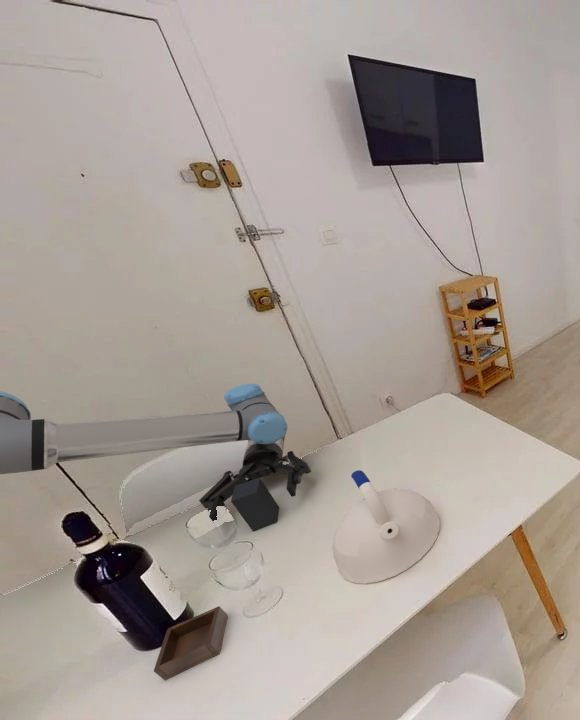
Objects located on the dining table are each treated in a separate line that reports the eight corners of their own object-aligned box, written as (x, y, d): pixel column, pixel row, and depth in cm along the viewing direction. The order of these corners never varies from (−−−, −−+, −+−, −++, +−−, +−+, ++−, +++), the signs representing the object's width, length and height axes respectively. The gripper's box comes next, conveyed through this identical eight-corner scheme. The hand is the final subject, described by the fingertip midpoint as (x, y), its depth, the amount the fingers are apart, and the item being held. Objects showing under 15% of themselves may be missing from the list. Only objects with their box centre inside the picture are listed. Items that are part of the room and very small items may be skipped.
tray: (164, 680, 68) (153, 671, 66) (177, 638, 74) (167, 628, 72) (219, 653, 71) (210, 644, 70) (228, 615, 77) (219, 605, 76)
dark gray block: (252, 531, 94) (230, 501, 89) (255, 515, 98) (234, 485, 93) (277, 522, 96) (256, 492, 91) (279, 507, 100) (259, 477, 95)
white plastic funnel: (354, 607, 78) (315, 545, 69) (326, 542, 91) (291, 484, 82) (456, 539, 91) (435, 480, 82) (419, 491, 103) (397, 435, 94)
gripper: (325, 446, 116) (326, 492, 101) (209, 484, 104) (189, 544, 89) (315, 425, 113) (313, 470, 97) (192, 462, 101) (168, 520, 85)
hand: (254, 505), depth 93 cm, fingers open, 13 cm apart
